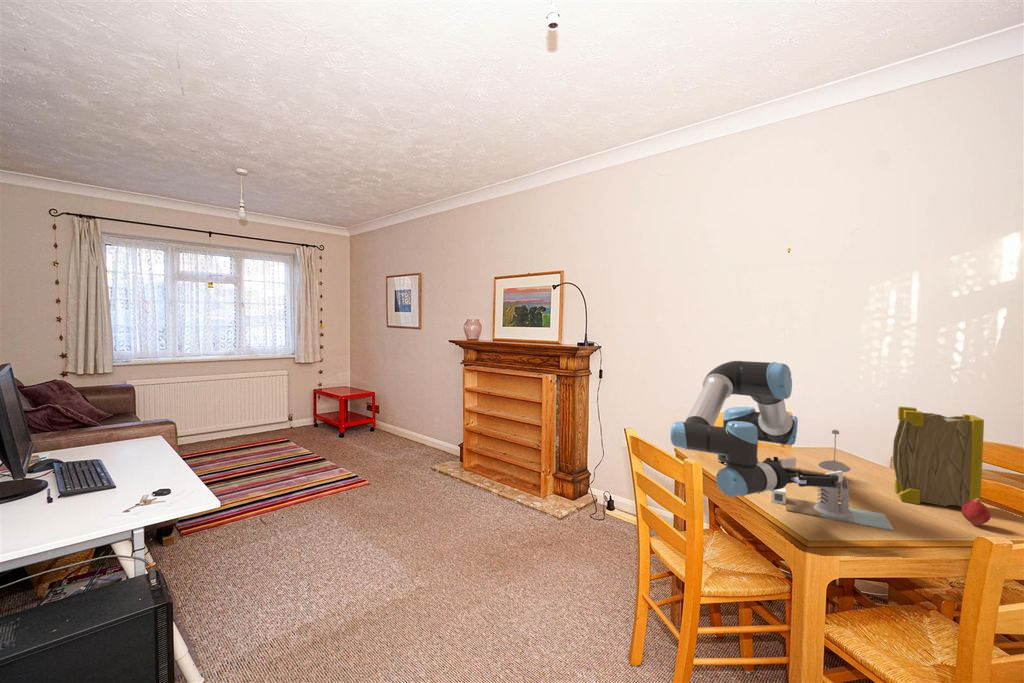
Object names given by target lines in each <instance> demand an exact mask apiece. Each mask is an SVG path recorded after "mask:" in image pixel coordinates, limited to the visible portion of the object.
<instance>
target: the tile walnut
mask: <svg viewBox="0 0 1024 683" xmlns="http://www.w3.org/2000/svg"><path fill="white" fill-rule="evenodd" d="M816 502H817V501H816ZM816 502H815V501H811V500H804V499H799V498H792V497H788V496H786V505H785V509H786V512H790V513H797V514H802V515H807V516H810V517H811V516H813V517H817V518H821V517H820V514H819V511H817V510H815V509H814V506H815V505H816Z"/></svg>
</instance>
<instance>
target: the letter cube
mask: <svg viewBox="0 0 1024 683" xmlns="http://www.w3.org/2000/svg"><path fill="white" fill-rule="evenodd" d="M770 492H771V493H770V499H771V500H770V502H771V503H775V504H781V505H785V506H786V497H787V489H786V488H785V487H784V488H782V489H778V490H771V491H770Z"/></svg>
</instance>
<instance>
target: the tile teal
mask: <svg viewBox="0 0 1024 683" xmlns="http://www.w3.org/2000/svg"><path fill="white" fill-rule="evenodd" d="M849 509H850V511H851V513H852V514H853V515H852V516H853V518H854V520H855V523H854V524H856V525H861V526H867V527H872V528H876V529H883V530H887V531H894V528H893V526H892V525H891V523H890V521H889V520H888V518H887V517H886V515H885V514H884V513H881V512H873V511H868V510H862V509H858V508H857V509H856V508H850V507H849Z"/></svg>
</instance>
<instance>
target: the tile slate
mask: <svg viewBox="0 0 1024 683" xmlns="http://www.w3.org/2000/svg"><path fill="white" fill-rule="evenodd" d="M816 504H818V501H816ZM849 511H850V509H849ZM850 512H851V511H850ZM819 514H820V517H819V518H823V519H828V520H832V521H833V520H834V521H839V522H845V523H850V524H855V520H854V518H853V516H852V517H836V516H831V515H827V514H824V513H821V512H819Z"/></svg>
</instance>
